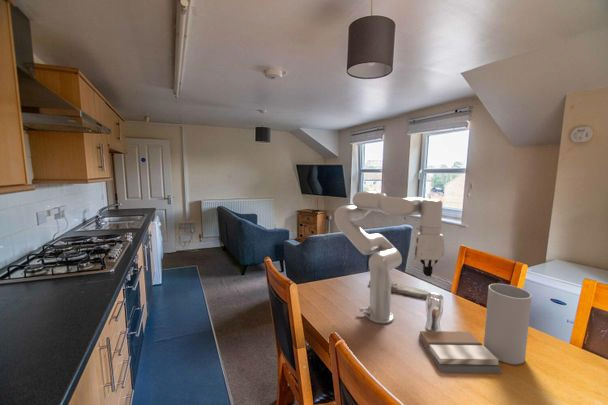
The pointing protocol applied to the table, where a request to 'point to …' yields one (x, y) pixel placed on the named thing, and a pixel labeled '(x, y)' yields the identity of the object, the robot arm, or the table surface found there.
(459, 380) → the table surface
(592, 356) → the table surface
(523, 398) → the table surface
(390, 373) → the table surface
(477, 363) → the loose plank
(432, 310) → the beer glass
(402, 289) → the long grey stone
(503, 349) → the cylinder vase
